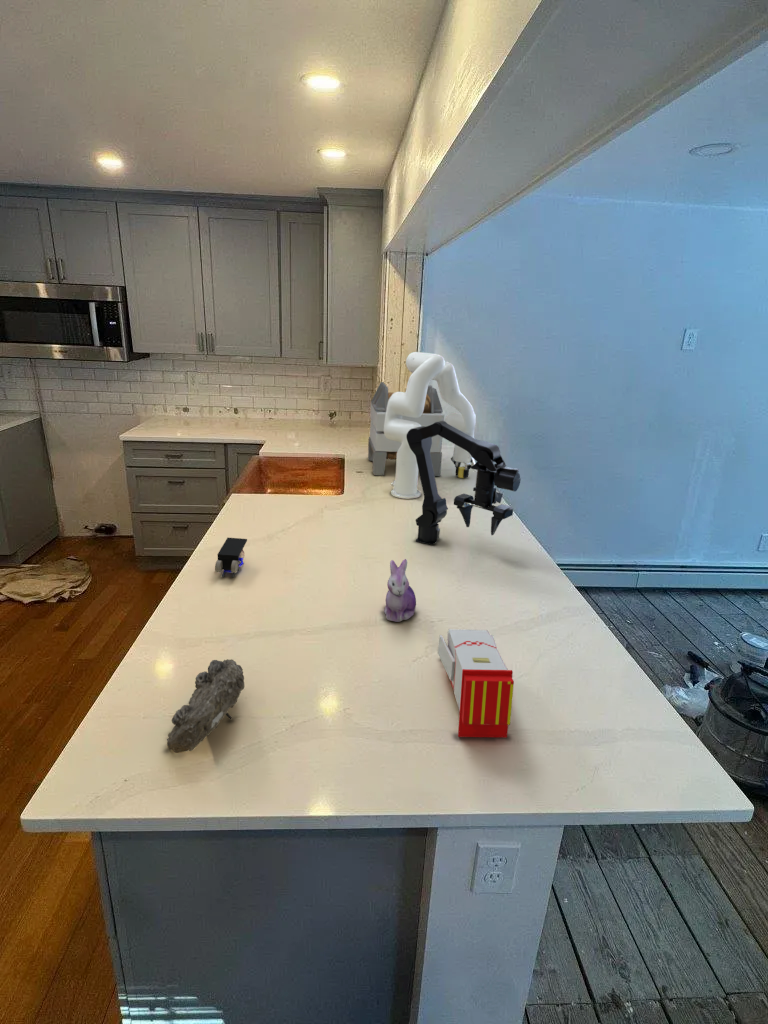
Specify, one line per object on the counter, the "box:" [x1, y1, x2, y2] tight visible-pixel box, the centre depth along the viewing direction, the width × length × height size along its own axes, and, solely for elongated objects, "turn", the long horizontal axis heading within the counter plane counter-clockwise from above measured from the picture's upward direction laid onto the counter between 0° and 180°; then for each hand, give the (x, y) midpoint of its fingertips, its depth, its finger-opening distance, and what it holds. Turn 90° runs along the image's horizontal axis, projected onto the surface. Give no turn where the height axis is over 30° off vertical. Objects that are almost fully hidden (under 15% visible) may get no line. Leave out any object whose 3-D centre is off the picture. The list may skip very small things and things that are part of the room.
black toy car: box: [214, 537, 248, 578], centre depth 166 cm, size 7×8×15 cm
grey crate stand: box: [367, 381, 445, 477], centre depth 277 cm, size 34×33×41 cm
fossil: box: [166, 658, 245, 754], centre depth 106 cm, size 22×10×15 cm
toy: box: [437, 628, 515, 738], centre depth 117 cm, size 12×13×30 cm
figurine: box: [384, 558, 417, 623], centre depth 145 cm, size 9×10×15 cm
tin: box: [457, 466, 465, 479], centre depth 270 cm, size 4×4×5 cm
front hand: (480, 530), depth 182 cm, fingers open, 9 cm apart
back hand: (461, 476), depth 271 cm, fingers closed on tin, 3 cm apart
